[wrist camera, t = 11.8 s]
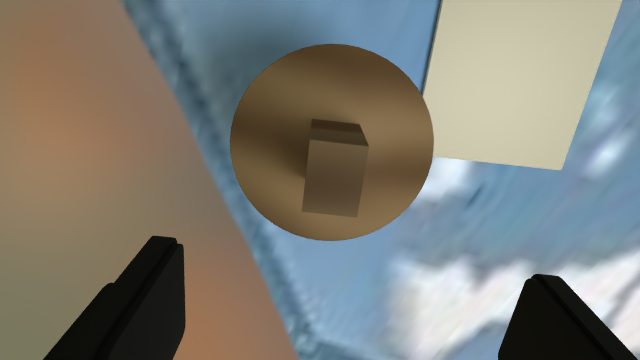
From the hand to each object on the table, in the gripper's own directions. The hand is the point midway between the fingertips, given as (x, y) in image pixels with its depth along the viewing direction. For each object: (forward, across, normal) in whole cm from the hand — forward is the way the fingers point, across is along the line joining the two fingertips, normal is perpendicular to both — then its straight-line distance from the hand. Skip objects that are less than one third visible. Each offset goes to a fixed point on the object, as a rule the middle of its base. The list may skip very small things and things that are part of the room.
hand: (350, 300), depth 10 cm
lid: (+16, 0, +1) cm, 16 cm away
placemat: (+28, -16, -6) cm, 33 cm away
